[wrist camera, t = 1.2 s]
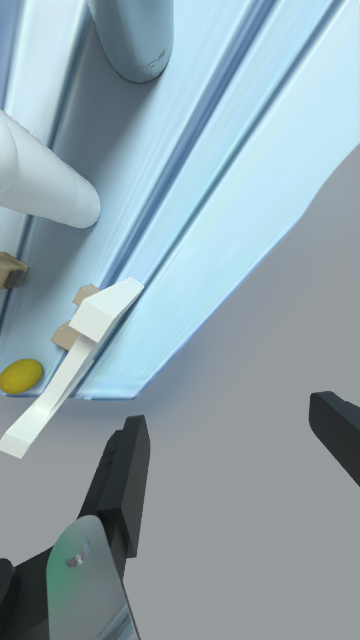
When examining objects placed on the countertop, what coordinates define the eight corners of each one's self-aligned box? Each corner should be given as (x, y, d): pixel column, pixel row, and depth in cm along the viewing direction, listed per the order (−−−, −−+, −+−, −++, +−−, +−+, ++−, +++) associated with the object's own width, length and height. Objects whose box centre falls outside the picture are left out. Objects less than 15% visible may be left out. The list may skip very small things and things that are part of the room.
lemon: (19, 352, 37) (-20, 377, 30) (46, 350, 37) (14, 374, 30) (28, 375, 39) (-7, 404, 32) (54, 373, 39) (25, 402, 32)
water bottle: (106, 188, 29) (-213, -123, 5) (97, 235, 31) (-160, 170, 7) (59, 169, 28) (-605, -328, 4) (53, 219, 30) (-409, 81, 6)
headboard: (51, 350, 38) (-51, 430, 20) (105, 259, 32) (27, 263, 15) (87, 370, 39) (21, 458, 22) (144, 286, 34) (114, 318, 17)
